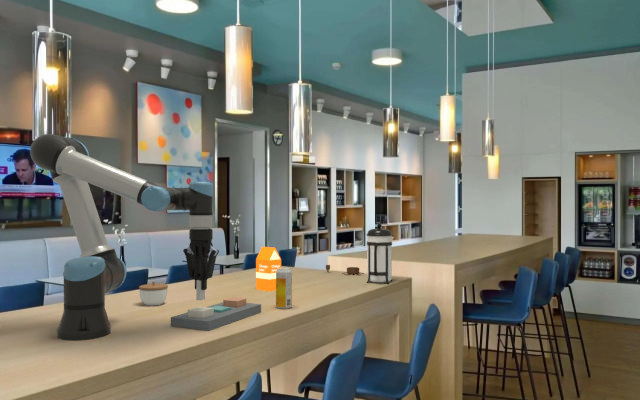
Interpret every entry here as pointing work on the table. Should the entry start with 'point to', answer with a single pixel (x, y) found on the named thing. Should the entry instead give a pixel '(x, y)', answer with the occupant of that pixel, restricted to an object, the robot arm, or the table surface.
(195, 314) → the cream button
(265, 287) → the orange juice
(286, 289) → the beer can
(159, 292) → the lidded jar
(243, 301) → the terracotta button
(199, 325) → the panel
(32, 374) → the table surface
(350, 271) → the place setting
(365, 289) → the table surface
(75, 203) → the robot arm
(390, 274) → the coffee press
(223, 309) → the teal button
